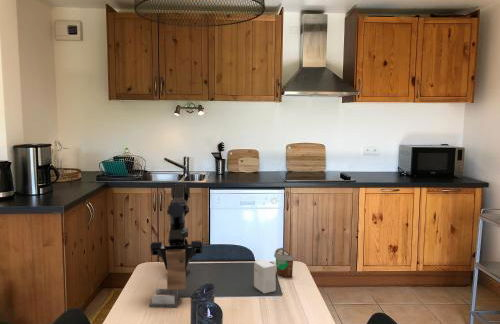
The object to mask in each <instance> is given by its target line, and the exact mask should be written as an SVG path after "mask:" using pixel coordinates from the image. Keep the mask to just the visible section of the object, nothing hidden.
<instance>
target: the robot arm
mask: <svg viewBox="0 0 500 324" xmlns="http://www.w3.org/2000/svg"><path fill="white" fill-rule="evenodd" d="M170 188H171V189H170V197H171V200H170V202H169V204H168V205H167V210H166V211H167V215H168V220H169V230H168V234H169V235H168V240H167V241H168V244H163V241H152V242H151V243H150V253H151V255H152V256H158V257H159V258H161V260H162V262H163V265H164V268H165V271H167V250H181V249H185V260H186V262H185V270H186V275H187V274H189V273H190V272H191V270H190V269H188V266H189V264H190V261H191V260H192V258H193V257H194V256H196V254H197V255H198V254H202V253H203V241H201V240H191V242H190V243H191V244H190V243H189V242H188V240H187V238H188V237H189V227H188V228H187V227H186V216H187V215H188V214H189V213H190V207H189V205H188V204H189V198H191V188H190V186H187V185H186V183H175V184H173V186H171V187H170Z"/></svg>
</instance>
